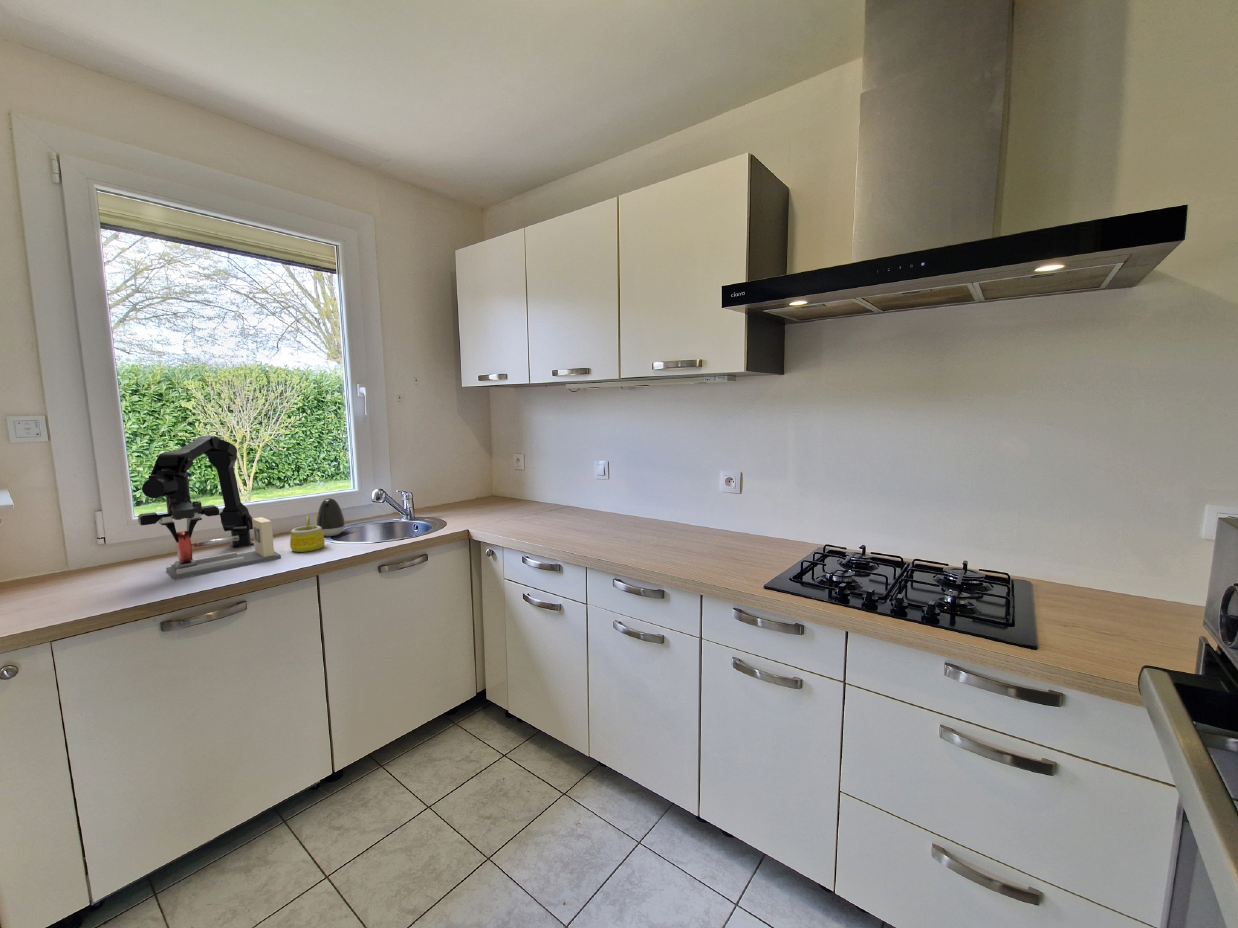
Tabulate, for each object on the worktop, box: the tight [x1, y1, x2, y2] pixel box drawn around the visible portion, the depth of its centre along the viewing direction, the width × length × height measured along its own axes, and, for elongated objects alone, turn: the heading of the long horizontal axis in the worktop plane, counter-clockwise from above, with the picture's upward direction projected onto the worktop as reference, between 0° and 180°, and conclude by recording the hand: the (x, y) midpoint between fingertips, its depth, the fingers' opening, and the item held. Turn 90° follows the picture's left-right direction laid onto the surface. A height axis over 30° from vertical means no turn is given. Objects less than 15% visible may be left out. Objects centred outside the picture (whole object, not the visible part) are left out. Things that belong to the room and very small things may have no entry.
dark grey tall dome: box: [315, 497, 346, 537], centre depth 204 cm, size 10×10×15 cm
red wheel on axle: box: [173, 530, 239, 569], centre depth 163 cm, size 10×16×12 cm, turn 140°
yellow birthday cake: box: [289, 513, 325, 553], centre depth 184 cm, size 13×11×12 cm
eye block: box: [165, 516, 282, 581], centre depth 166 cm, size 13×28×13 cm, turn 140°
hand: (183, 541), depth 158 cm, fingers closed on red wheel on axle, 2 cm apart
